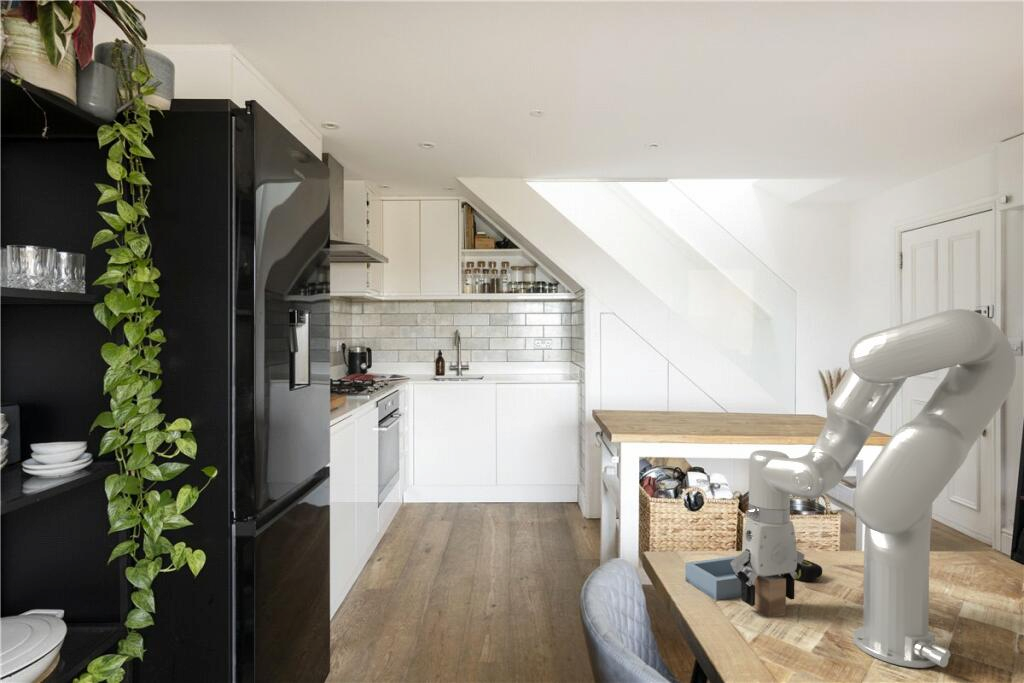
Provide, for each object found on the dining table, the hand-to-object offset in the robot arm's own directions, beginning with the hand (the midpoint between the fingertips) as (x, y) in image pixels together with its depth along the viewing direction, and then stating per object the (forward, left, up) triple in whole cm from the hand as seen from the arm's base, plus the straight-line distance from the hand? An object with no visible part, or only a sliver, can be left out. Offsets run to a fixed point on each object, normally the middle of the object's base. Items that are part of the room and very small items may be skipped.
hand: (767, 599), depth 117 cm
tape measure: (+11, -20, -2) cm, 23 cm away
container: (+12, 0, -2) cm, 12 cm away
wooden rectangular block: (0, 0, -2) cm, 2 cm away
